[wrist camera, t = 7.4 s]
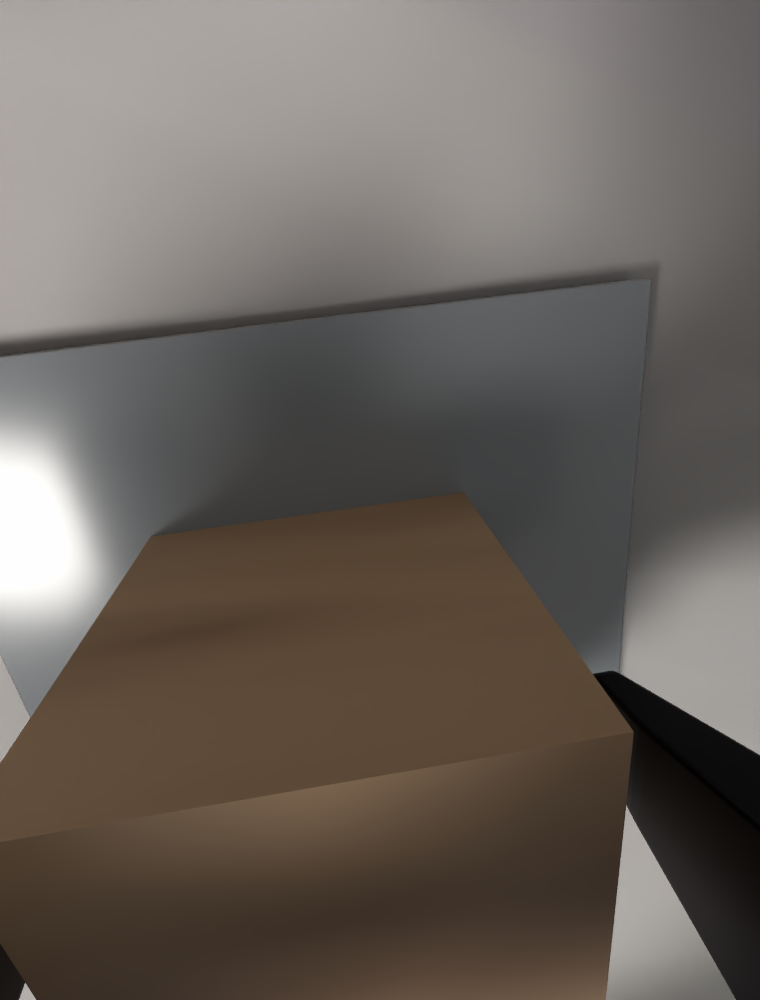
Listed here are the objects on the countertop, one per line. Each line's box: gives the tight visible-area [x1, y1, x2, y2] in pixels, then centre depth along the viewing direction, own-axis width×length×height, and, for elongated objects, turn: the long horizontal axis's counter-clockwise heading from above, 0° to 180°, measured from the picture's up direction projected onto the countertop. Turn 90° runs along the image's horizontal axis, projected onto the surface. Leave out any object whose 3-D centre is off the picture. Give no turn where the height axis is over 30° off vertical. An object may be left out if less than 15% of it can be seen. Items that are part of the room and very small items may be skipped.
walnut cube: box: [0, 492, 634, 1000], centre depth 8 cm, size 6×6×6 cm
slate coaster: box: [0, 279, 651, 718], centre depth 12 cm, size 13×13×1 cm
